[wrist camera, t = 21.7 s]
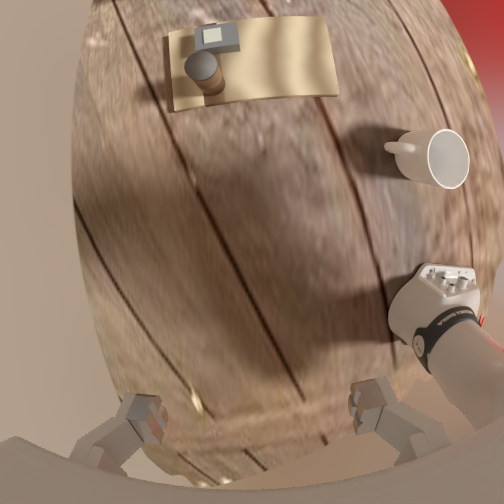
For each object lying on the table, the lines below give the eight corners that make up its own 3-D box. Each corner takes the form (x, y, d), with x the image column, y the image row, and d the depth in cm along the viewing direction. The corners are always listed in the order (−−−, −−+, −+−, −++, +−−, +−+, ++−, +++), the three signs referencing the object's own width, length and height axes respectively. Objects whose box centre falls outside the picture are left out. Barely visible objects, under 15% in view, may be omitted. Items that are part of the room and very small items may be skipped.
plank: (322, 20, 31) (324, 17, 30) (336, 96, 36) (339, 94, 34) (171, 36, 33) (168, 32, 31) (177, 112, 37) (174, 110, 36)
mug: (369, 170, 40) (400, 176, 30) (375, 120, 37) (406, 112, 27) (429, 184, 40) (465, 194, 30) (434, 138, 37) (471, 139, 27)
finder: (238, 30, 31) (236, 20, 28) (240, 51, 33) (239, 43, 30) (198, 35, 32) (193, 27, 29) (199, 57, 33) (195, 49, 30)
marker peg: (224, 71, 34) (215, 48, 25) (227, 94, 35) (218, 76, 26) (199, 75, 34) (183, 54, 25) (201, 98, 35) (185, 82, 26)
